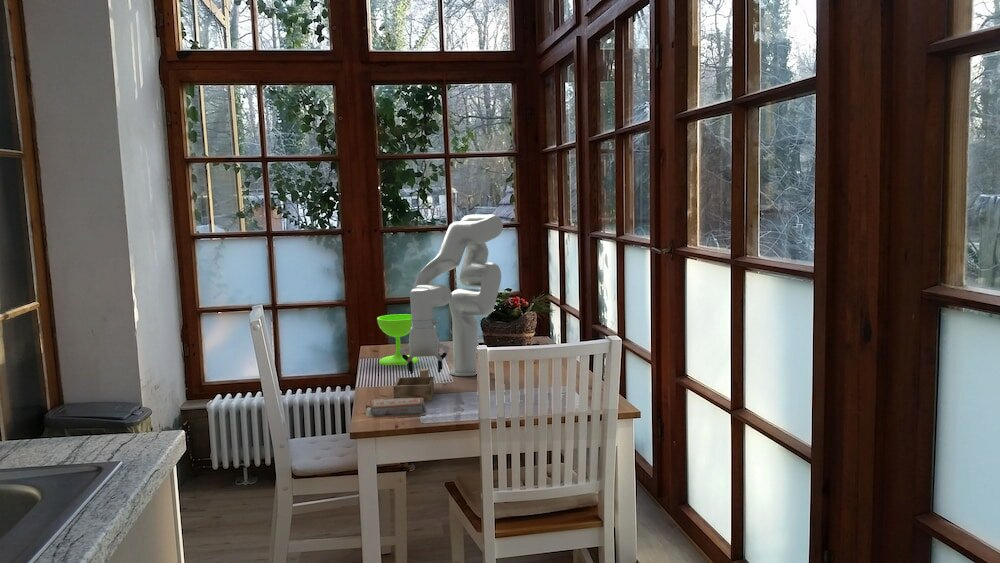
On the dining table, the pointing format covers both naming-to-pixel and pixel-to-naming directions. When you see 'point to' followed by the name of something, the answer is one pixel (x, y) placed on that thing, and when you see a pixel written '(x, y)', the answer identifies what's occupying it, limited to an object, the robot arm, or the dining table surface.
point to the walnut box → (414, 388)
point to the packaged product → (396, 407)
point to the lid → (424, 373)
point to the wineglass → (396, 335)
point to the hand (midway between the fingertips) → (425, 372)
